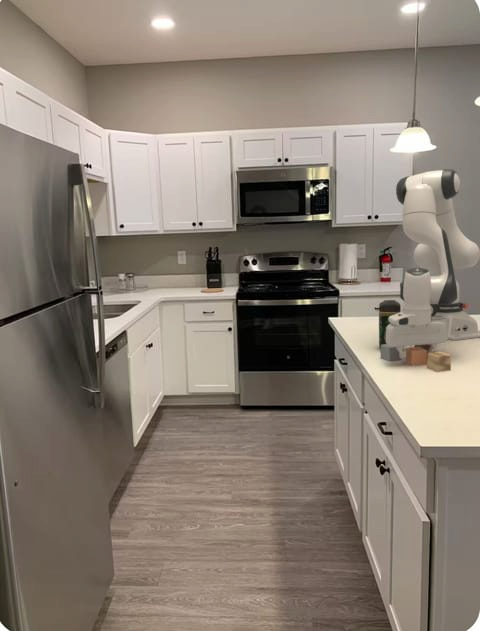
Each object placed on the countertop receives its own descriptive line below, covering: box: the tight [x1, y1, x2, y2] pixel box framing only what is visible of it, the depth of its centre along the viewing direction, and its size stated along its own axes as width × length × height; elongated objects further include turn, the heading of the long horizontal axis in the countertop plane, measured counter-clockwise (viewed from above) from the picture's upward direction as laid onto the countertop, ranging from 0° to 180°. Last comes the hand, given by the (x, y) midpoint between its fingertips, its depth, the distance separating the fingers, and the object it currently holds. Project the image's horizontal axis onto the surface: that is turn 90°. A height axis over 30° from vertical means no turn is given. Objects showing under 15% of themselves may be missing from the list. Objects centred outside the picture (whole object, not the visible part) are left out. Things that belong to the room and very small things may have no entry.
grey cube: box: [380, 344, 403, 362], centre depth 171 cm, size 5×5×5 cm
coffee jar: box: [378, 299, 402, 350], centre depth 184 cm, size 10×8×19 cm
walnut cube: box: [414, 344, 435, 358], centre depth 172 cm, size 5×5×5 cm
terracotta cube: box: [405, 346, 427, 367], centre depth 164 cm, size 5×5×5 cm
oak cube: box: [426, 351, 452, 373], centre depth 157 cm, size 5×5×5 cm
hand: (416, 357), depth 164 cm, fingers open, 8 cm apart
